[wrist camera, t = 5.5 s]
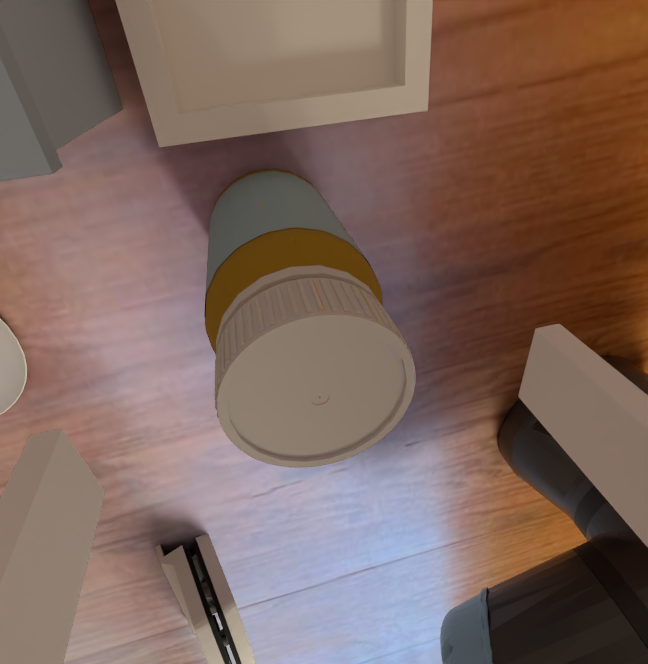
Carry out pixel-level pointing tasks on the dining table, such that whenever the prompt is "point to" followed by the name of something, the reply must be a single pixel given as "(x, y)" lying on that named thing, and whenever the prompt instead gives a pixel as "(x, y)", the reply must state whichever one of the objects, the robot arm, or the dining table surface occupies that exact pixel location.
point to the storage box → (49, 82)
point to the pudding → (10, 368)
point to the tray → (276, 63)
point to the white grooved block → (207, 601)
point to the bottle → (298, 328)
